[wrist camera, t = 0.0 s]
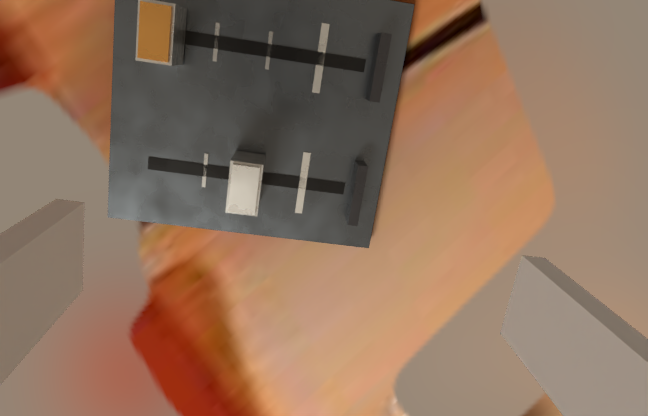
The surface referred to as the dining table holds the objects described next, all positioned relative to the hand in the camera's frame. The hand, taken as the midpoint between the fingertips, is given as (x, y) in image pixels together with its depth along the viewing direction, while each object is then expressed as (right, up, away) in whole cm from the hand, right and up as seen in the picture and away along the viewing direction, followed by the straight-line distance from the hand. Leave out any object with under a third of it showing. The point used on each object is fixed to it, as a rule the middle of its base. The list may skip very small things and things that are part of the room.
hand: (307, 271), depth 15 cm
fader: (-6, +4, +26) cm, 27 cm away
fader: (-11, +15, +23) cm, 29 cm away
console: (-5, +10, +26) cm, 28 cm away
